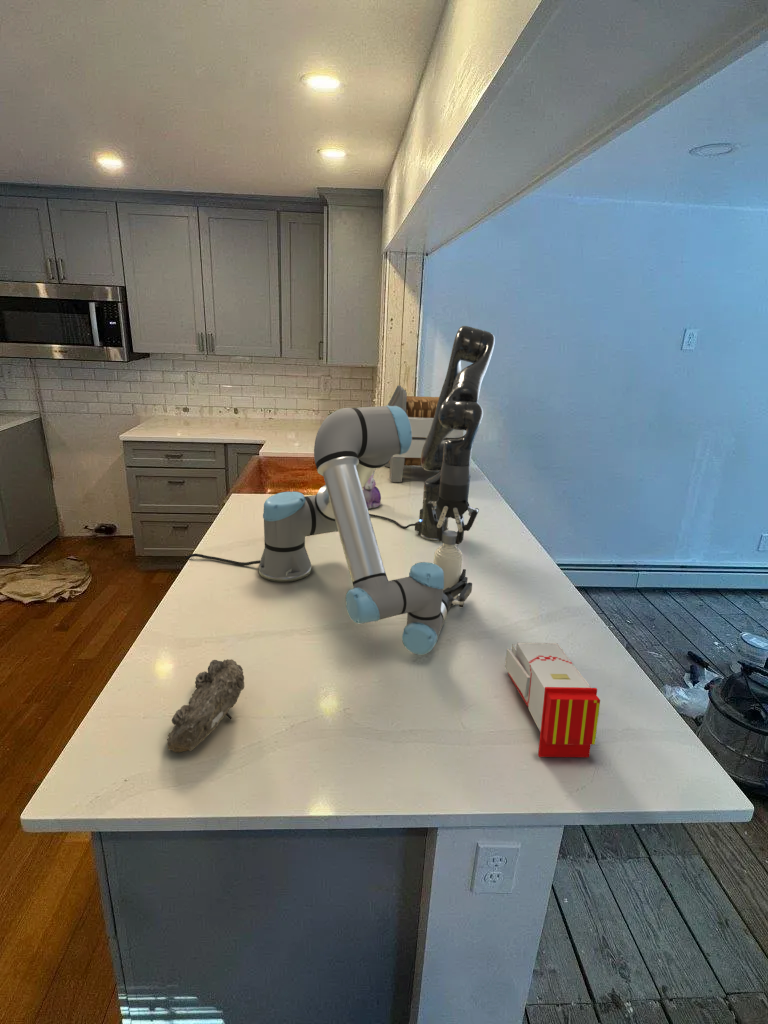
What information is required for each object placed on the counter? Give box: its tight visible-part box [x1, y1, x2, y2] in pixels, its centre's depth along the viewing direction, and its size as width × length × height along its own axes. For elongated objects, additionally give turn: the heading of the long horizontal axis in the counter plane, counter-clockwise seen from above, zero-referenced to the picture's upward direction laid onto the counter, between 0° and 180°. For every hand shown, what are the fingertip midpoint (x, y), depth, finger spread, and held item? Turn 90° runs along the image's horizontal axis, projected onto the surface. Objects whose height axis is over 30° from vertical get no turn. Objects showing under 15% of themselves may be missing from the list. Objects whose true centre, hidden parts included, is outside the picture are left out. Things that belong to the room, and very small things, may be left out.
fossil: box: [166, 658, 245, 754], centre depth 106 cm, size 22×10×15 cm
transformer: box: [384, 384, 465, 483], centre depth 268 cm, size 34×33×41 cm
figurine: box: [362, 470, 382, 510], centre depth 224 cm, size 9×10×15 cm
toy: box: [504, 642, 601, 758], centre depth 113 cm, size 12×13×30 cm
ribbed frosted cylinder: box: [433, 543, 464, 607], centre depth 153 cm, size 8×8×19 cm
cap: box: [440, 529, 457, 545], centre depth 150 cm, size 4×4×2 cm
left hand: (449, 571), depth 158 cm, fingers closed on ribbed frosted cylinder, 7 cm apart
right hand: (449, 541), depth 150 cm, fingers closed on cap, 4 cm apart
